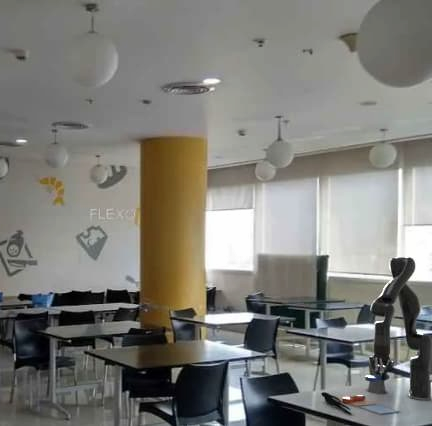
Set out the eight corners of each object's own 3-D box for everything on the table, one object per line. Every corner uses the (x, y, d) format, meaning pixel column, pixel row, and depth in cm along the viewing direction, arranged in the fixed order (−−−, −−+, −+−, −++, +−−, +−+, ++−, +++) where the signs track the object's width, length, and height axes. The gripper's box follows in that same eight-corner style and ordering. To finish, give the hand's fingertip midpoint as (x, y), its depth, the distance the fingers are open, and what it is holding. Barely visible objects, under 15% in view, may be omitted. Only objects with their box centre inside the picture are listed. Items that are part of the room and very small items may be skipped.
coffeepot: (363, 388, 338) (364, 355, 338) (380, 388, 337) (381, 355, 338) (374, 394, 322) (374, 360, 323) (392, 395, 322) (393, 361, 323)
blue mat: (378, 405, 300) (378, 404, 300) (398, 412, 289) (398, 411, 289) (359, 407, 295) (359, 406, 295) (380, 414, 284) (380, 413, 284)
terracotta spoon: (360, 398, 311) (360, 393, 311) (368, 401, 306) (368, 396, 306) (339, 400, 305) (339, 395, 305) (347, 403, 300) (347, 398, 300)
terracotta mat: (352, 397, 314) (352, 396, 314) (374, 404, 302) (374, 403, 302) (335, 399, 309) (335, 398, 309) (356, 406, 297) (356, 405, 297)
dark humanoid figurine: (363, 399, 282) (334, 383, 306) (346, 405, 280) (319, 388, 305) (367, 416, 282) (338, 398, 307) (350, 422, 281) (322, 404, 305)
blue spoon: (383, 378, 301) (384, 372, 301) (392, 380, 296) (392, 375, 297) (362, 379, 296) (362, 374, 296) (371, 382, 291) (371, 376, 291)
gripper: (399, 346, 293) (398, 382, 292) (376, 341, 306) (375, 376, 305) (387, 346, 290) (387, 383, 289) (364, 341, 303) (364, 377, 302)
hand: (381, 379), depth 297 cm, fingers closed on blue spoon, 2 cm apart
